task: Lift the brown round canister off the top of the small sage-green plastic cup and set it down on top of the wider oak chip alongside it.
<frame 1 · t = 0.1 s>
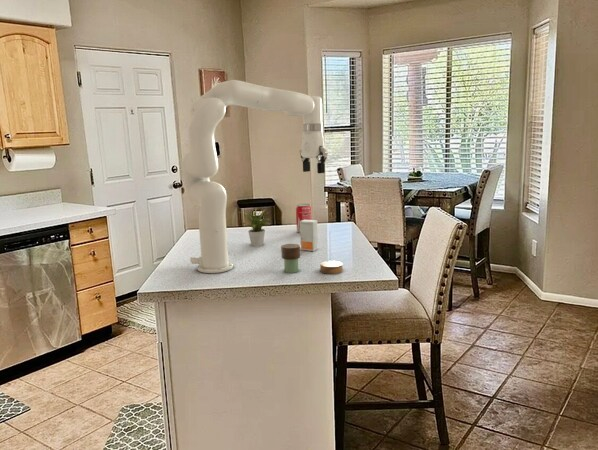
hand: (313, 172, 203), 31 cm above the countertop, tool pointing down, fingers open, 9 cm apart
cosmetic box: (309, 250, 208), on the countertop
soda can: (304, 232, 241), on the countertop
plastic cup: (291, 270, 179), on the countertop
oak chip: (331, 270, 177), on the countertop
house plant: (254, 245, 218), on the countertop
brown round canister: (291, 257, 178), point 5 cm above the countertop, touching plastic cup
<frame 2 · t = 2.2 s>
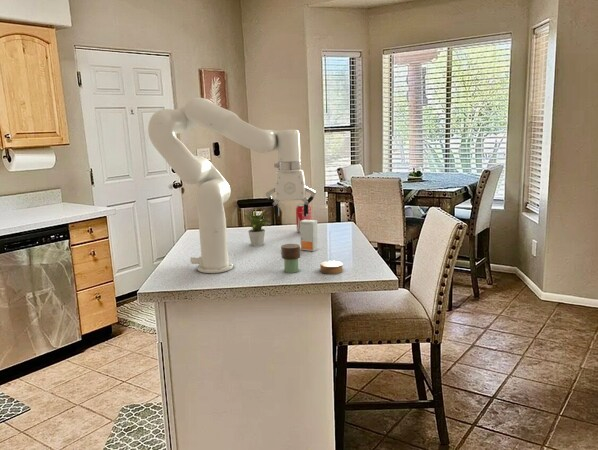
hand: (291, 216, 177), 19 cm above the countertop, tool pointing down, fingers open, 9 cm apart
nothing on the countertop moved.
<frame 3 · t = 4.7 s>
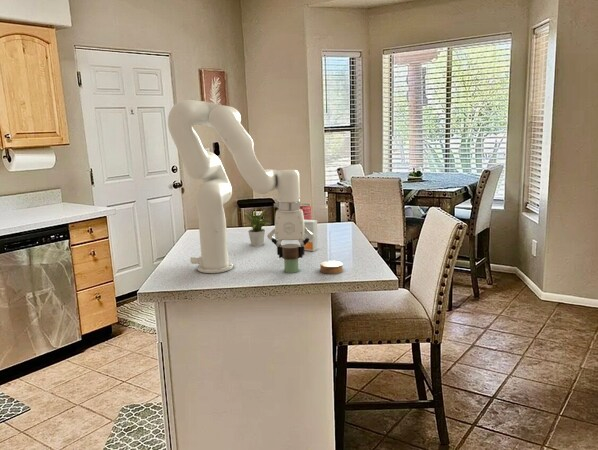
hand: (291, 256, 178), 5 cm above the countertop, tool pointing down, fingers closed on brown round canister, 6 cm apart
brown round canister: (291, 257, 178), point 5 cm above the countertop, touching gripper, plastic cup
everything else where it was.
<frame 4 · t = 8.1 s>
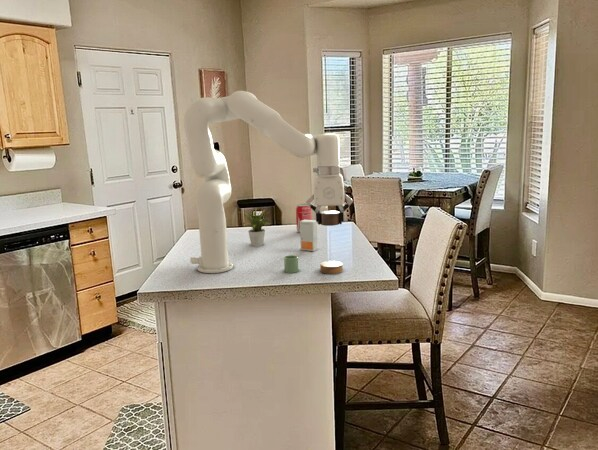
hand: (330, 223, 174), 17 cm above the countertop, tool pointing down, fingers closed on brown round canister, 6 cm apart
brown round canister: (330, 223, 174), point 17 cm above the countertop, touching gripper
everything else where it was.
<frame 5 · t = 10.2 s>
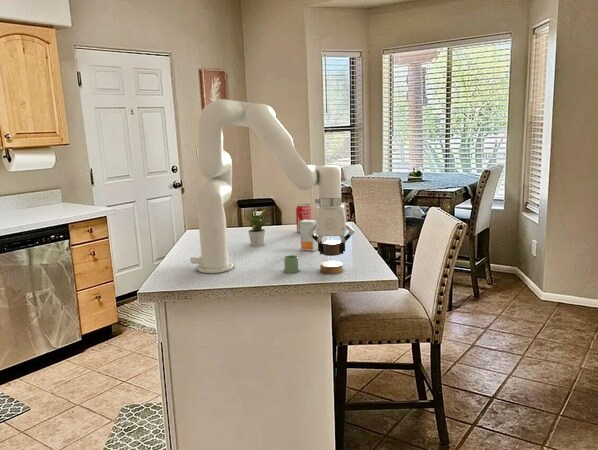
hand: (331, 252, 176), 6 cm above the countertop, tool pointing down, fingers closed on brown round canister, 6 cm apart
brown round canister: (331, 253, 176), point 6 cm above the countertop, touching gripper
everything else where it was.
when the fingers open (3 cm above the countertop, at t = 11.8 s): brown round canister stays where it is, resting on oak chip.
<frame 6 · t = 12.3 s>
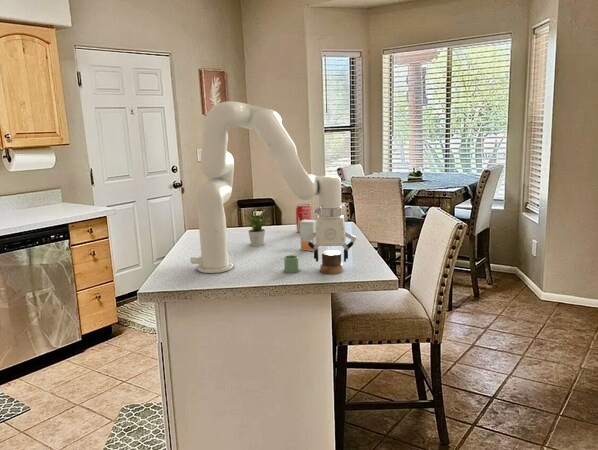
hand: (331, 260, 177), 4 cm above the countertop, tool pointing down, fingers open, 9 cm apart
oak chip: (331, 270, 177), on the countertop, touching brown round canister
brown round canister: (331, 263, 177), point 2 cm above the countertop, touching oak chip
everything else where it was.
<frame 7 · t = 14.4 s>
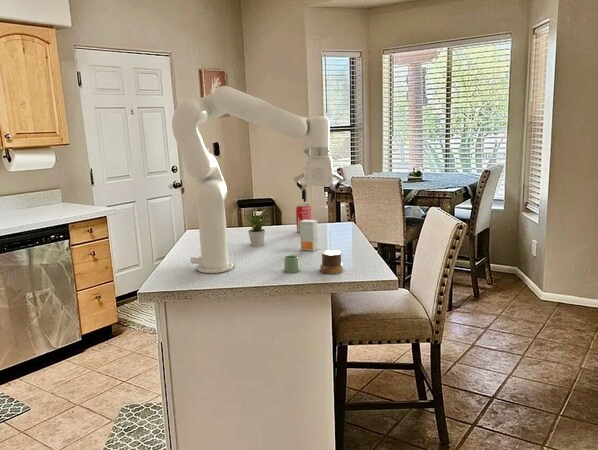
hand: (318, 201, 180), 23 cm above the countertop, tool pointing down, fingers open, 9 cm apart
nothing on the countertop moved.
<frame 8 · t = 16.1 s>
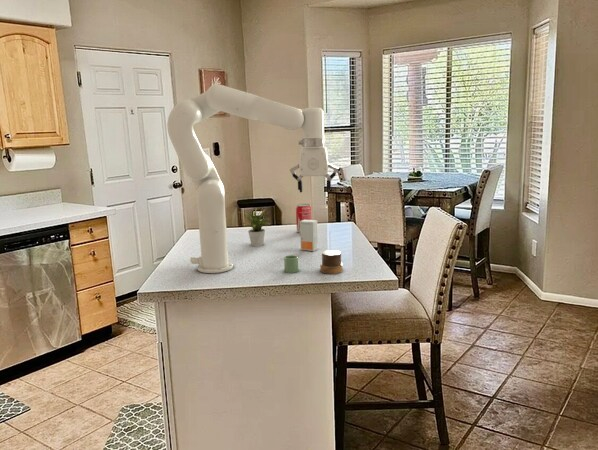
hand: (314, 191, 184), 26 cm above the countertop, tool pointing down, fingers open, 9 cm apart
nothing on the countertop moved.
at the end: brown round canister 0.1 cm off-centre on the oak chip, point 2.5 cm above the oak chip's base; brown round canister tilted 0°; brown round canister touching oak chip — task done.
